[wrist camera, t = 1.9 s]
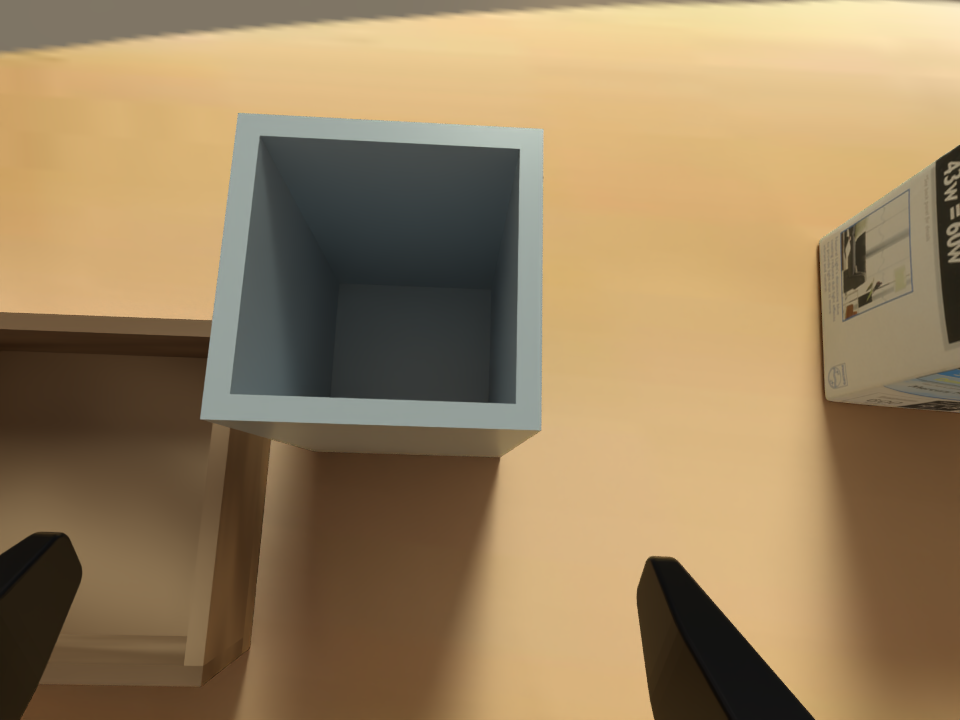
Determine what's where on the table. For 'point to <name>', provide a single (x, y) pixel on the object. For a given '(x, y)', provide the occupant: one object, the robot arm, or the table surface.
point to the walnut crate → (131, 494)
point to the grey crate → (380, 287)
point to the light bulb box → (896, 296)
